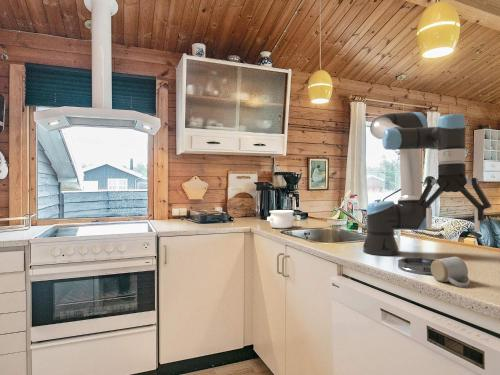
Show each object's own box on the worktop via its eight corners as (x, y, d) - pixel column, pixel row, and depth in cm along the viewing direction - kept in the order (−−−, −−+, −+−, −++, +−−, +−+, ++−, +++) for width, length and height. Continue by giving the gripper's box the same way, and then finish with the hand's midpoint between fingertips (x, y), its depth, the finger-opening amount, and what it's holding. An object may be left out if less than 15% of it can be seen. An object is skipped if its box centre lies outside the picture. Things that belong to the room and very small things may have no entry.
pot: (273, 230, 223) (272, 212, 223) (262, 227, 239) (262, 210, 239) (301, 228, 231) (300, 211, 231) (289, 225, 247) (289, 209, 247)
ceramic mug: (428, 278, 108) (428, 255, 108) (449, 276, 110) (449, 254, 110) (455, 289, 98) (455, 263, 98) (477, 287, 100) (477, 262, 99)
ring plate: (390, 268, 121) (390, 262, 121) (408, 261, 132) (408, 255, 132) (439, 278, 108) (439, 270, 108) (454, 268, 120) (454, 261, 120)
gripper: (406, 164, 111) (407, 226, 111) (497, 160, 93) (497, 234, 93) (414, 165, 116) (415, 224, 116) (502, 161, 98) (502, 231, 98)
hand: (451, 229), depth 105 cm, fingers open, 13 cm apart
